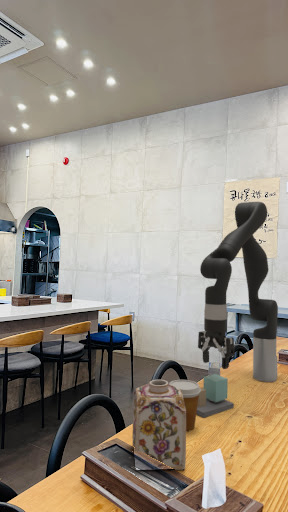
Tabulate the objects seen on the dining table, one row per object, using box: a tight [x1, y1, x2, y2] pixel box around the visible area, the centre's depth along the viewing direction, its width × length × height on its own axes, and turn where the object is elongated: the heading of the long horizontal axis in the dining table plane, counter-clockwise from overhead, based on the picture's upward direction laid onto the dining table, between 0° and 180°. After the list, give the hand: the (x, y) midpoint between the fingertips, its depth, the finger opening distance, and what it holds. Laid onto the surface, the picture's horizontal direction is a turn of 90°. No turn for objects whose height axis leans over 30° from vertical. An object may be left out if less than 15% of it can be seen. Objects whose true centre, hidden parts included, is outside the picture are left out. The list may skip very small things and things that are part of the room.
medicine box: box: [207, 361, 221, 376], centre depth 132 cm, size 8×4×9 cm, turn 168°
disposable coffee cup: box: [168, 379, 201, 432], centre depth 99 cm, size 10×10×12 cm
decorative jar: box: [132, 379, 187, 471], centre depth 83 cm, size 12×12×18 cm
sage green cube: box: [202, 374, 229, 402], centre depth 115 cm, size 6×6×7 cm
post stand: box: [196, 387, 235, 419], centre depth 113 cm, size 14×10×8 cm
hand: (215, 365), depth 115 cm, fingers open, 8 cm apart
